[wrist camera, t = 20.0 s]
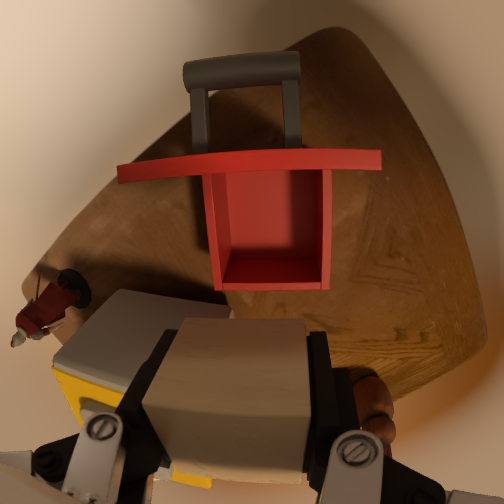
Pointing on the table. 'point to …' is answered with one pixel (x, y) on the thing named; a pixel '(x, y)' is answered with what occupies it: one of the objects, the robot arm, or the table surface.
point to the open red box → (269, 229)
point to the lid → (204, 162)
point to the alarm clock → (123, 354)
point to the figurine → (51, 306)
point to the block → (234, 399)
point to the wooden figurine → (375, 410)
